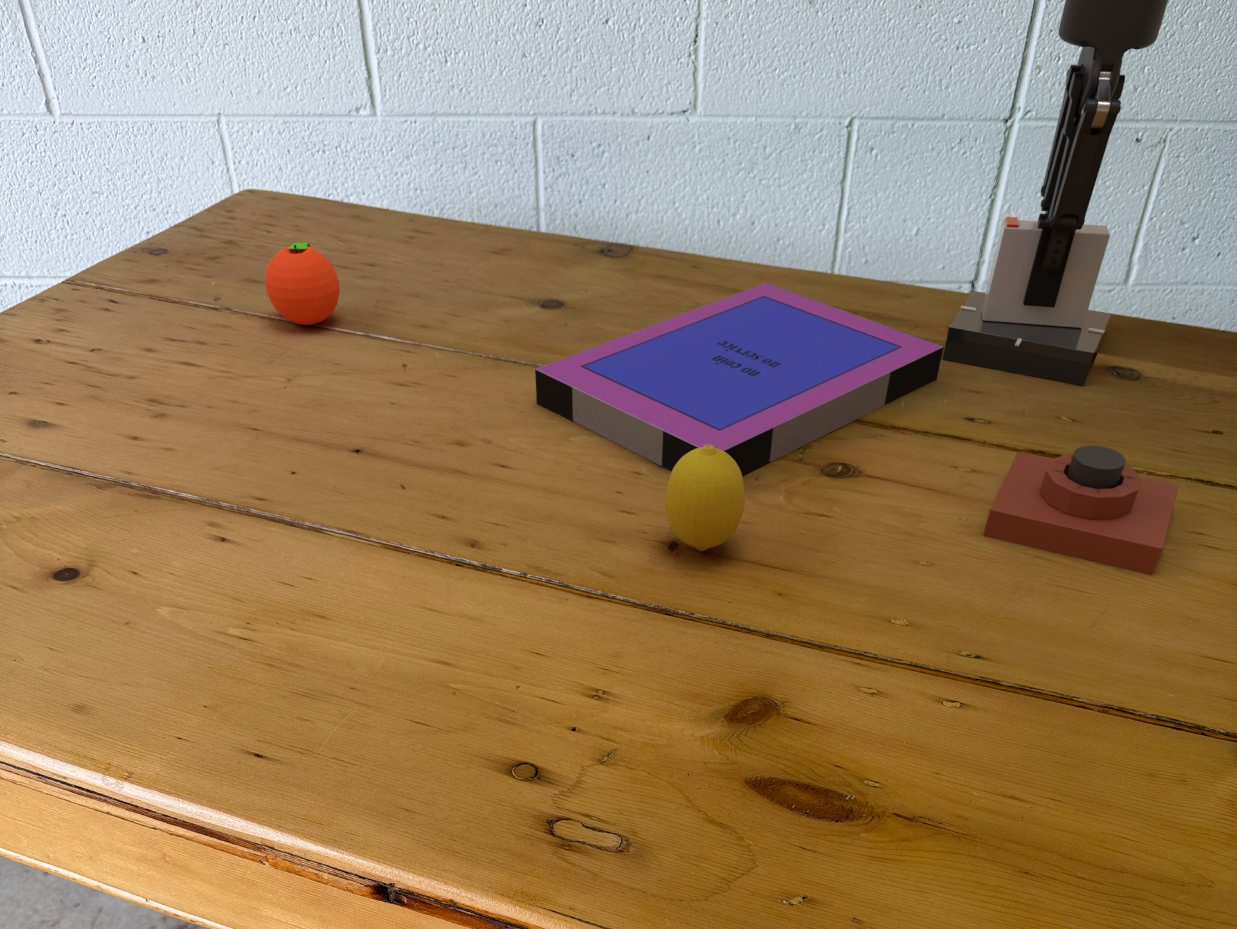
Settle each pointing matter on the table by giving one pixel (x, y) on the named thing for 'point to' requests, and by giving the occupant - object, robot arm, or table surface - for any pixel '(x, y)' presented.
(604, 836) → the table surface
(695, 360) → the book
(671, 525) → the lemon
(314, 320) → the clementine
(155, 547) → the table surface
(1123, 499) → the switch block
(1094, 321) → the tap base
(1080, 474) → the button
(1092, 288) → the grey panel on base
